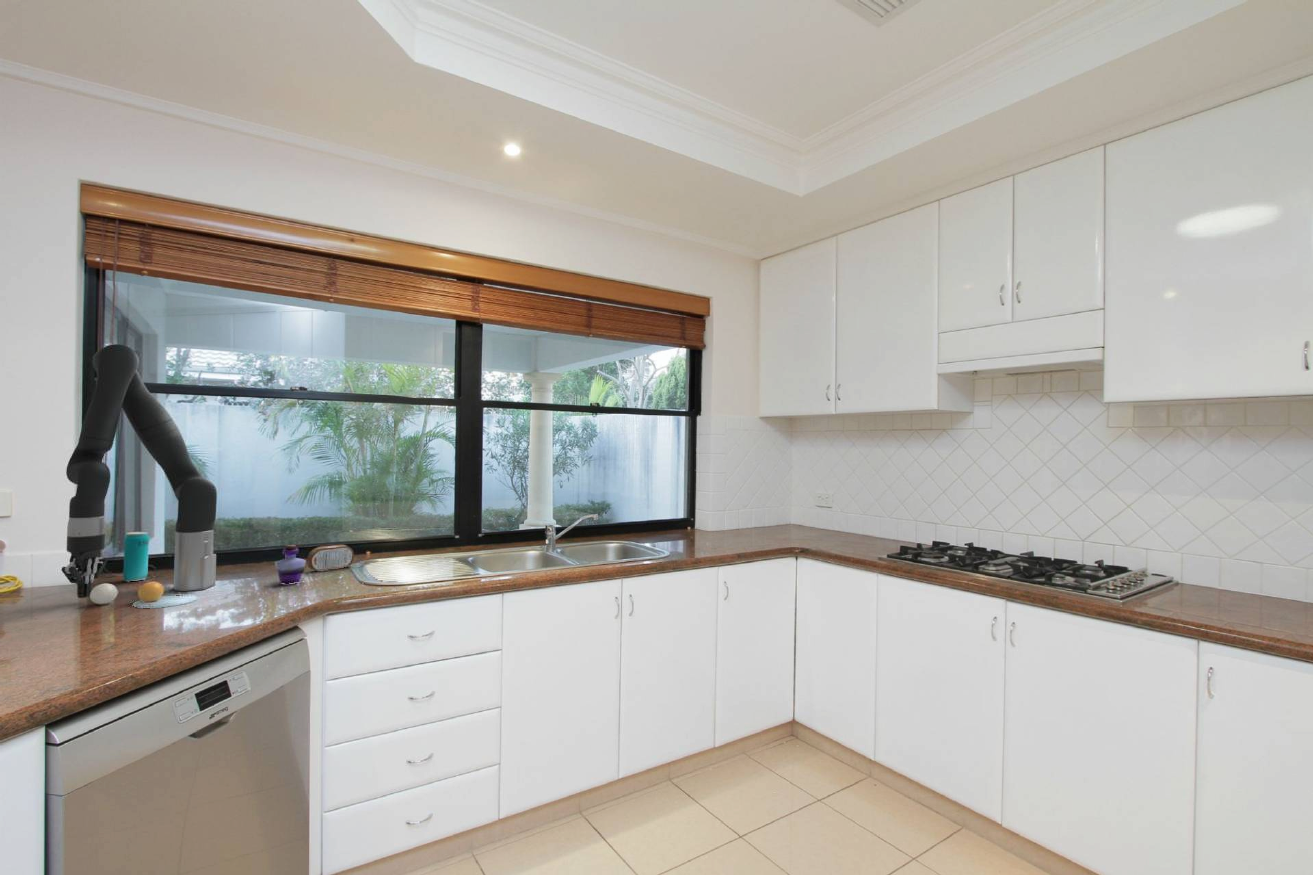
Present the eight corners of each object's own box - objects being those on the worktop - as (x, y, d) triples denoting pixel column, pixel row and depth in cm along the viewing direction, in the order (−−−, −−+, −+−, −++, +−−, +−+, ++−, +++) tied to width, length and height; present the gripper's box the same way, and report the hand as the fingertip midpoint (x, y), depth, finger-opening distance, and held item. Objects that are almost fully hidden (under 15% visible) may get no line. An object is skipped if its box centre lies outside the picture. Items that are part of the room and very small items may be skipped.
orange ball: (143, 595, 168) (163, 601, 169) (129, 600, 163) (150, 607, 164) (151, 576, 169) (171, 583, 169) (137, 581, 163) (158, 588, 164)
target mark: (208, 594, 175) (208, 594, 175) (177, 608, 161) (177, 607, 161) (154, 595, 173) (154, 594, 173) (118, 609, 159) (118, 608, 159)
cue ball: (100, 580, 165) (109, 597, 167) (80, 591, 160) (89, 609, 161) (117, 578, 164) (126, 596, 166) (97, 590, 159) (106, 608, 161)
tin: (351, 566, 218) (351, 542, 218) (355, 567, 216) (355, 544, 216) (306, 572, 206) (306, 547, 207) (309, 573, 204) (310, 549, 205)
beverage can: (152, 579, 191) (153, 531, 192) (135, 583, 186) (136, 534, 186) (135, 578, 192) (137, 531, 192) (118, 582, 186) (119, 533, 186)
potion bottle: (311, 582, 193) (312, 544, 193) (285, 587, 185) (286, 548, 185) (293, 578, 196) (294, 542, 197) (267, 584, 189) (268, 545, 189)
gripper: (82, 537, 158) (80, 603, 158) (119, 529, 171) (117, 591, 171) (49, 537, 157) (47, 603, 157) (89, 529, 170) (87, 591, 170)
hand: (84, 597), depth 164 cm, fingers closed
